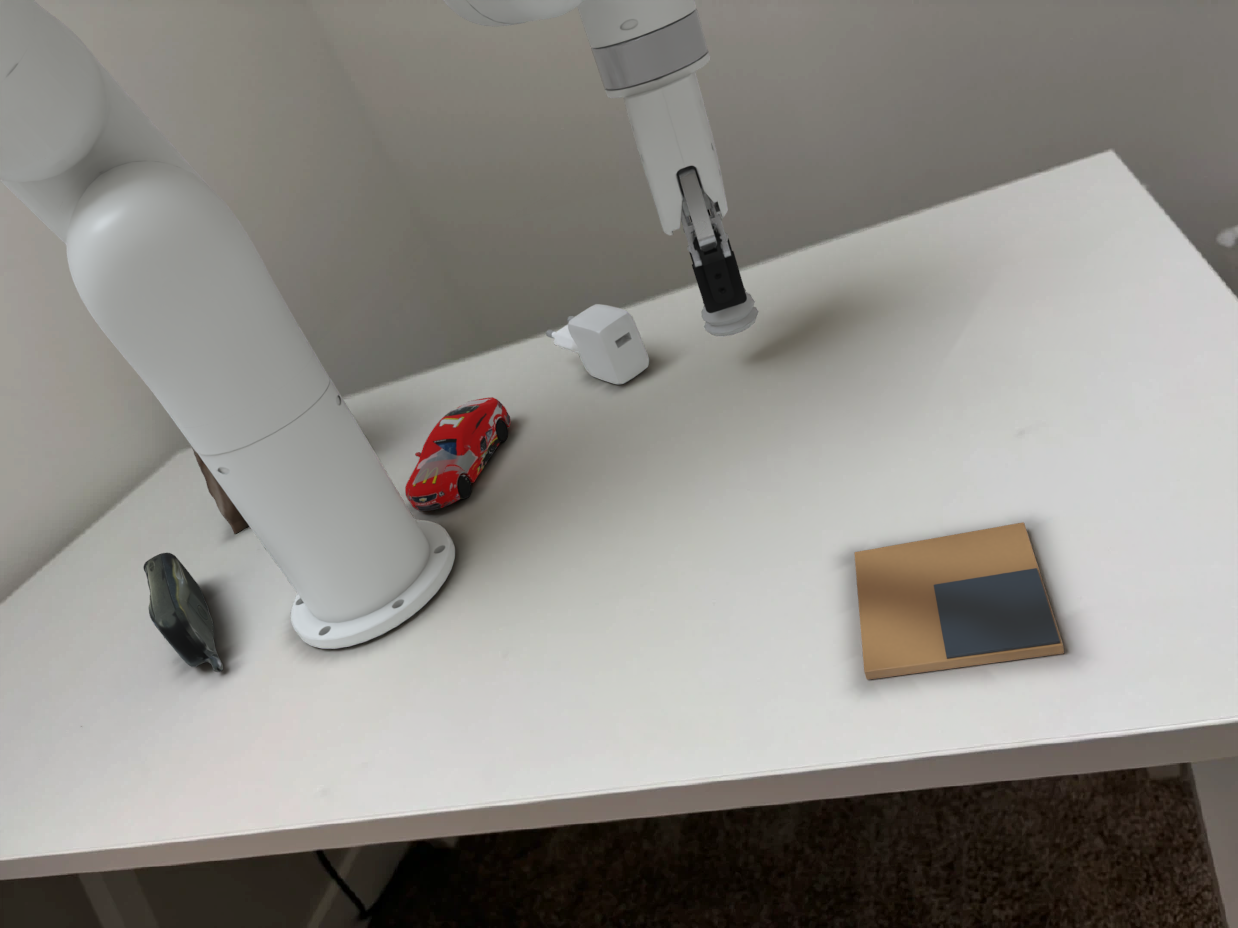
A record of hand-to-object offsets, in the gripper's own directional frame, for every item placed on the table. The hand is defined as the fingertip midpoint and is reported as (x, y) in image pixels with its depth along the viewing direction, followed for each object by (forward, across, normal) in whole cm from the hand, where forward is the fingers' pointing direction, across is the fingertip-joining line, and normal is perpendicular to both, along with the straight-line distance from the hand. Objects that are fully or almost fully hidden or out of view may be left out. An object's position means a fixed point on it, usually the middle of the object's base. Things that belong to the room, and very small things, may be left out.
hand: (723, 294), depth 74 cm
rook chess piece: (+3, 0, 0) cm, 3 cm away
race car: (+7, +2, -25) cm, 26 cm away
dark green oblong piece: (+8, +14, -46) cm, 48 cm away
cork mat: (+7, +32, +6) cm, 34 cm away
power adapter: (+7, -8, -12) cm, 16 cm away
